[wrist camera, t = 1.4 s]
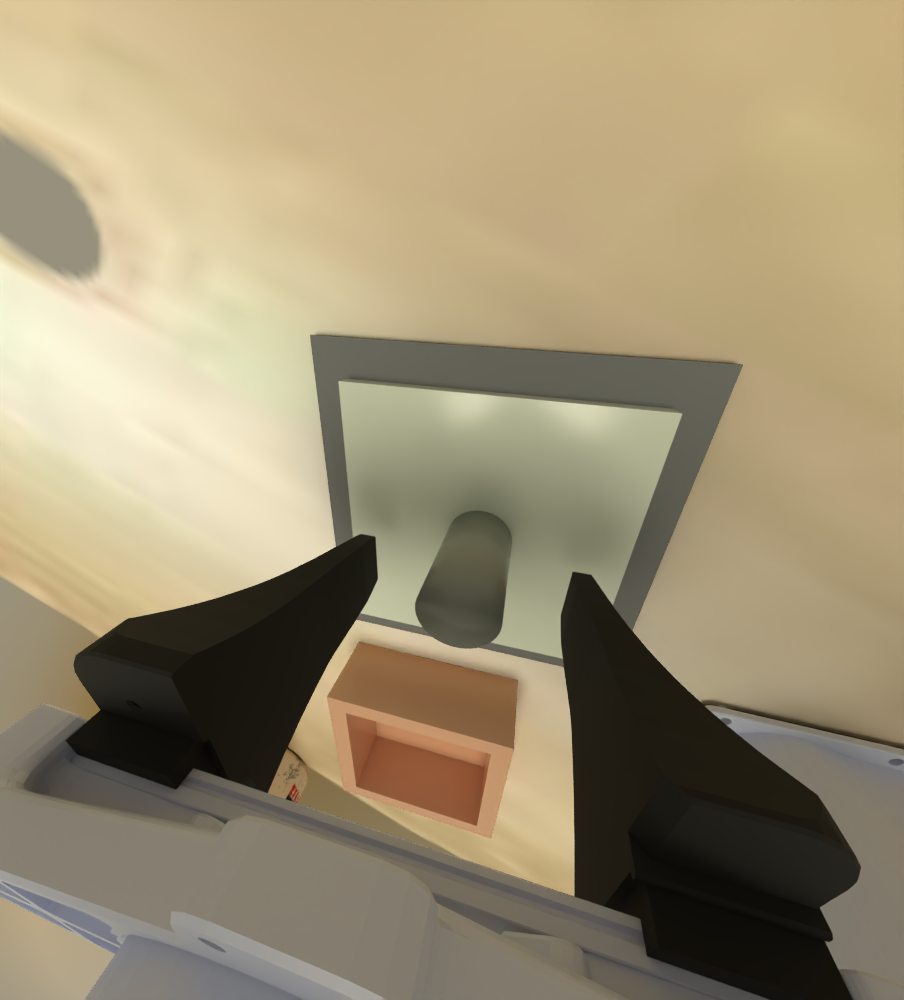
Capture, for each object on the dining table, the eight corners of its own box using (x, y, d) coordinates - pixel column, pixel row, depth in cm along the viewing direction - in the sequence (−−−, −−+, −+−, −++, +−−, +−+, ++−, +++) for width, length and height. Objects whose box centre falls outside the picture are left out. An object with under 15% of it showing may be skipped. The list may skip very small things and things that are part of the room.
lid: (673, 408, 11) (767, 459, 7) (588, 651, 17) (608, 771, 12) (348, 378, 13) (249, 401, 9) (366, 602, 19) (310, 690, 14)
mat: (736, 364, 11) (743, 364, 10) (610, 671, 18) (612, 678, 17) (315, 335, 13) (310, 334, 13) (348, 611, 20) (344, 616, 20)
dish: (517, 675, 20) (513, 749, 16) (497, 766, 24) (491, 838, 21) (361, 638, 21) (327, 697, 18) (369, 728, 26) (343, 789, 22)
